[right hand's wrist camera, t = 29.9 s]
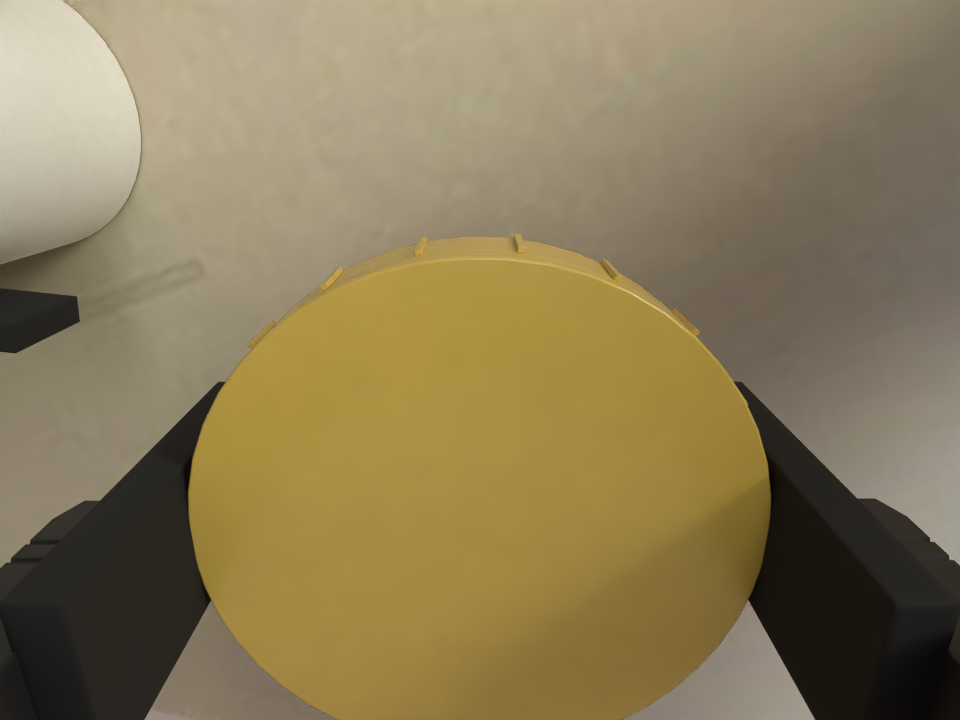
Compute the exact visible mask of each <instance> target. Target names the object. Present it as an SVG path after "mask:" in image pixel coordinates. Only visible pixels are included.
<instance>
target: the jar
mask: <svg viewBox="0 0 960 720" xmlns="http://www.w3.org/2000/svg"><path fill="white" fill-rule="evenodd" d="M140 154H141V131H140V124H139V117H138V112H137V108H136V105H135V101H134V97H133V94H132V92H131V89H130V87H129V84H128V81H127V79H126V77H125V75H124V73H123V71H122V69H121V67H120V65H119V63H118V61H117V60H116V58H115V57H114V55H113V54H112V52H111V51H110V49H109V48H108V46H107V45H106V43H105V42H104V41H103V40H102V38H101V37H100V36H99V35H98V34H97V32H96V31H95V30H94V29H93V28H92V26H91V25H90V24H88V23H87V22H86V21H85V20H84V19H83V18H82V17H81V16H80V15H79V14H78V13H77V12H76V11H75V10H73V9H72V8H71V7H70V6H68V5H67V4H66V3H64V2H63V1H62V0H0V264H4V263H7V262H10V261H14V260H17V259H21V258H24V257H27V256H31V255H34V254H37V253H41V252H44V251H47V250H51V249H54V248H58V247H61V246H64V245H68V244H71V243H74V242H77V241H79V240H82V239H84V238H87V237H89V236H91V235H92V234H94V233H96V232H97V231H99V230H100V229H102V228H103V227H104V226H105V225H106V224H108V223H109V222H110V221H111V220H112V219H113V218H114V217H115V216H116V214H117V213H118V212H119V211H120V210H121V209H122V207H123V205H124V204H125V202H126V200H127V199H128V197H129V195H130V193H131V190H132V188H133V185H134V183H135V180H136V176H137V172H138V168H139V163H140Z"/></svg>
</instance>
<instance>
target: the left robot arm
mask: <svg viewBox="0 0 960 720" xmlns="http://www.w3.org/2000/svg"><path fill="white" fill-rule="evenodd" d="M78 322H80V319H79V311H78V302H77V296H67V295H58V294H49V293H39V292H30V291H20V290H11V289H1V288H0V352H9V353H17V352H19V351H21V350H23V349H25V348H27V347H29V346H31V345H33V344H35V343H37V342H39V341H41V340H43V339H45V338H47V337H49V336H51V335H53V334H55V333H58V332H60V331H62V330H64V329H66V328H68V327H70V326H72V325H74V324H76V323H78Z"/></svg>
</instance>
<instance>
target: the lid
mask: <svg viewBox="0 0 960 720" xmlns="http://www.w3.org/2000/svg"><path fill="white" fill-rule="evenodd" d="M698 334H700V332H699V331H698V330H697V329H696V328H695V327H694V326H693V325H692V324H691V323H690V322H689V321H688V320H687V319H686V318H685V317H683V316H682V315H681V314H680V313H679V312H678V311H677V310H676V309H675V308H674V309H673V310H672V311H670V310H669V309H668V308H667V307H666V306H664V305H663V304H662V303H661V302H660V301H658V300H657V299H656V298H655V297H653V296H652V295H651V294H650V293H649V292H647V291H646V290H645V289H644V288H642V287H641V286H640V285H638V284H636V283H635V282H633V281H632V280H630V279H628V278H627V277H625V276H623V275H622V274H620V273H619V272H618V271H617V270H616V269H615V268H614V267H613V266H612V265H611V263H610V262H609V261H607V260H605V259H603V260H602V261H601V263H599V262H596V261H594V260H592V259H589V258H587V257H585V256H582V255H580V254H578V253H575V252H572V251H568V250H565V249H561V248H558V247H554V246H550V245H547V244H543V243H540V242H533V241H526V240H523V239H522V236H521V234H514V239H512V238H505V237H456V238H448V239H440V240H432V241H428V238H427V236H425V237H421V238H420V240H419V242H418V243H417V244H413V245H409V246H405V247H402V248H398V249H394V250H390V251H387V252H385V253H382V254H380V255H377V256H375V257H372V258H370V259H367V260H365V261H363V262H360V263H358V264H355V265H353V266H351V267H350V268H348V269H346V270H345V271H343V269H342V268H341V267H339V268H337V269H335V270H334V271H333V273H332V274H331V275H330V276H329V277H328V278H327V279H326V280H325V281H324V282H323V283H322V284H321V285H320V286H318V287H317V288H316V289H315V290H313V291H312V292H311V293H310V294H308V295H307V296H306V297H305V298H303V299H302V300H301V301H299V302H298V303H297V304H296V305H294V306H293V308H292V309H291V310H290V311H289V312H288V313H287V314H286V315H285V316H284V317H283V318H282V319H281V320H280V321H279V322H278V323H277V322H275V321H274V320H273V321H272V322H271V323H270V324H269V325H268V326H267V327H265V328H264V329H263V330H262V331H261V332H260V333H259V334H258V335H257V336H256V337H255V338H254V339H253V340H252V341H251V342H250V343H249V345H248V347H249V348H250V349H252V350H251V351H250V352H249V353H248V354H247V355H246V356H245V357H244V358H243V359H242V360H241V361H240V362H239V364H238V365H237V366H236V368H235V369H234V371H233V372H232V374H231V375H230V377H229V378H228V379H227V381H226V382H225V384H224V385H223V387H222V388H221V389H220V391H219V392H218V394H217V396H216V398H215V400H214V402H213V405H212V407H211V409H210V411H209V413H208V414H207V416H206V419H205V421H204V423H203V425H202V428H201V432H200V435H199V438H198V442H197V445H196V448H195V452H194V455H193V458H192V466H191V473H190V480H189V488H188V515H189V522H190V528H191V533H192V539H193V544H194V549H195V555H196V560H197V564H198V569H199V572H200V575H201V578H202V581H203V584H204V587H205V589H206V591H207V593H208V595H209V597H210V599H211V601H212V603H213V605H214V607H215V609H216V611H217V613H218V615H219V616H220V618H221V619H222V621H223V622H224V623H225V625H226V626H227V628H228V629H229V631H230V632H231V634H232V635H233V637H234V638H235V639H236V641H237V642H238V643H239V644H240V645H241V647H242V648H243V649H244V650H245V651H246V652H247V653H248V654H249V656H250V657H251V658H252V659H253V660H254V661H255V662H256V663H257V664H258V665H259V666H260V667H261V668H262V669H263V670H264V671H265V672H267V673H268V674H269V675H270V676H271V677H272V678H273V679H275V680H276V681H277V682H278V683H279V684H280V685H281V686H283V687H284V688H286V689H287V690H288V691H290V692H291V693H293V694H294V695H296V696H297V697H299V698H300V699H301V700H303V701H304V702H306V703H307V704H309V705H311V706H313V707H314V708H316V709H318V710H320V711H322V712H324V713H325V714H327V715H329V716H331V717H333V718H335V719H337V720H622V719H624V718H626V717H628V716H630V715H631V714H633V713H635V712H637V711H639V710H641V709H643V708H645V707H647V706H648V705H650V704H651V703H653V702H654V701H656V700H657V699H659V698H660V697H662V696H663V695H665V694H666V693H668V692H669V691H671V690H672V689H674V688H675V687H676V686H677V685H678V684H680V683H681V682H682V681H683V680H684V679H685V678H687V677H688V676H689V675H690V674H691V673H692V672H694V671H695V670H696V669H697V668H698V667H699V666H700V665H701V664H702V663H703V662H704V661H705V660H706V659H707V658H708V656H709V655H710V654H711V653H712V652H713V651H714V650H715V649H716V648H717V647H718V646H719V645H720V643H721V642H722V640H723V639H724V638H725V636H726V635H727V633H728V632H729V631H730V629H731V628H732V626H733V625H734V624H735V622H736V621H737V619H738V618H739V616H740V614H741V612H742V610H743V608H744V606H745V604H746V603H747V601H748V599H749V597H750V595H751V593H752V591H753V589H754V586H755V583H756V580H757V578H758V575H759V572H760V569H761V565H762V561H763V555H764V550H765V545H766V539H767V534H768V529H769V522H770V515H771V488H770V480H769V471H768V462H767V459H766V455H765V451H764V448H763V444H762V441H761V437H760V434H759V430H758V428H757V425H756V423H755V421H754V419H753V417H752V414H751V412H750V410H749V408H748V403H747V401H746V399H745V398H744V397H743V395H742V394H741V392H740V391H739V389H738V388H737V386H736V385H735V383H734V382H733V380H732V379H731V377H730V376H729V374H728V373H727V371H726V370H725V368H724V367H723V366H722V365H721V363H720V362H719V361H718V360H717V359H716V358H715V357H714V356H713V355H712V354H711V352H710V351H709V350H708V349H707V348H706V347H705V346H704V345H703V344H702V343H701V341H700V340H699V339H698V338H697V337H696V336H697V335H698Z"/></svg>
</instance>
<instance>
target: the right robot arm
mask: <svg viewBox="0 0 960 720" xmlns="http://www.w3.org/2000/svg"><path fill="white" fill-rule="evenodd" d="M734 383H735V385H736V386H737V388H738V389H739V391H740V392H741V394H742V395H743V397H744V398H745V399H746V401H747V403H748V408H749V410H750V412H751V414H752V417H753V419H754V421H755V423H756V425H757V428H758V430H759V434H760V437H761V441H762V444H763V448H764V451H765V455H766V459H767V462H768V471H769V480H770V488H771V515H770V522H769V529H768V534H767V539H766V545H765V550H764V555H763V561H762V565H761V569H760V572H759V575H758V578H757V580H756V583H755V586H754V589H753V591H752V593H751V595H750V597H749V599H748V600H749V602H750V604H751V605H752V607H753V609H754V611H755V613H756V614H757V616H758V618H759V620H760V622H761V623H762V625H763V627H764V629H765V630H766V632H767V634H768V636H769V638H770V639H771V641H772V643H773V645H774V647H775V648H776V650H777V652H778V654H779V656H780V657H781V659H782V661H783V663H784V665H785V666H786V668H787V670H788V672H789V673H790V675H791V677H792V679H793V681H794V682H795V684H796V686H797V688H798V690H799V691H800V693H801V695H802V697H803V699H804V700H805V702H806V704H807V706H808V707H809V709H810V711H811V713H812V715H813V716H814V718H815V720H960V566H959V565H958V564H957V563H956V562H955V561H954V560H949V555H948V554H947V553H946V552H944V551H943V550H942V549H941V548H940V547H939V546H938V545H937V544H936V543H935V542H930V538H929V537H928V536H927V535H926V534H925V533H924V532H923V531H922V530H921V529H920V528H919V527H918V526H917V525H915V524H914V523H913V522H912V521H911V520H910V519H909V518H908V517H907V516H905V515H903V514H901V513H900V512H898V511H896V510H894V509H893V508H891V507H889V506H887V505H886V504H884V503H882V502H880V501H878V500H877V499H857V498H856V497H855V496H854V495H853V494H852V493H851V492H850V491H849V490H848V489H847V488H846V487H845V486H844V485H843V484H842V483H841V482H840V481H839V480H838V479H837V478H836V477H835V476H834V475H833V474H832V473H831V472H830V471H829V470H828V469H827V468H826V467H825V466H824V465H823V464H822V463H821V462H820V461H819V460H818V459H817V458H816V457H815V456H814V455H813V454H812V453H811V452H810V451H809V450H808V449H807V448H806V447H805V446H804V445H803V444H802V443H801V442H800V441H799V440H798V439H797V438H796V437H795V436H794V435H793V434H792V433H791V432H790V430H789V429H788V428H787V427H786V426H785V425H784V424H783V423H782V422H781V421H780V420H779V419H778V418H777V417H776V416H775V415H774V414H773V413H772V412H771V411H770V410H769V409H768V408H767V407H766V406H765V405H764V404H763V403H762V402H761V401H760V400H759V399H758V398H757V397H756V396H755V395H754V394H753V393H752V392H751V391H750V390H749V389H748V388H747V387H746V386H745V385H744V384H743V383H742V382H734ZM224 384H225V382H218V383H217V384H216V385H215V386H214V387H213V388H212V389H211V390H210V391H209V392H208V393H207V394H206V395H205V396H204V397H203V398H202V399H201V400H200V401H199V402H198V403H197V404H196V405H195V406H194V407H193V408H192V409H191V410H190V411H189V412H188V413H187V414H186V415H185V416H184V417H183V418H182V419H181V420H180V421H179V422H178V423H177V424H176V425H175V426H174V427H173V428H172V429H171V430H170V431H169V432H168V433H167V434H166V435H165V436H164V437H163V438H162V439H161V440H160V441H159V442H158V443H157V444H156V445H155V446H154V447H153V448H152V449H151V450H150V451H149V452H148V453H147V454H146V455H145V456H144V457H143V458H142V459H141V460H140V461H139V462H138V463H137V464H136V465H135V466H134V467H133V468H132V469H131V470H130V471H129V472H128V473H127V474H126V475H125V476H124V477H123V478H122V479H121V480H120V481H119V482H118V483H117V484H116V485H115V486H114V487H113V488H112V489H111V490H110V491H109V492H108V493H107V494H106V495H105V496H104V497H103V498H102V499H101V500H100V501H84V502H82V503H80V504H78V505H77V506H75V507H73V508H71V509H70V510H68V511H66V512H64V513H63V514H61V515H59V516H57V517H56V518H54V519H52V520H51V521H50V522H49V523H48V524H47V525H46V526H45V527H44V528H43V529H42V530H41V531H40V532H39V533H38V534H36V535H35V536H34V537H33V538H32V539H31V540H30V544H29V545H25V546H24V547H23V548H22V549H20V550H19V551H18V552H17V553H16V554H15V555H14V556H13V557H12V558H11V562H10V563H6V564H4V565H3V566H2V567H1V568H0V720H144V719H145V717H146V716H147V714H148V712H149V710H150V709H151V707H152V705H153V703H154V701H155V700H156V698H157V696H158V694H159V692H160V691H161V689H162V687H163V685H164V683H165V682H166V680H167V678H168V676H169V674H170V673H171V671H172V669H173V667H174V666H175V664H176V662H177V660H178V658H179V657H180V655H181V653H182V651H183V649H184V648H185V646H186V644H187V642H188V640H189V639H190V637H191V635H192V633H193V632H194V630H195V628H196V626H197V624H198V623H199V621H200V619H201V617H202V615H203V614H204V612H205V610H206V608H207V606H208V605H209V603H210V601H211V599H210V597H209V595H208V593H207V591H206V589H205V587H204V584H203V581H202V578H201V575H200V572H199V569H198V564H197V560H196V555H195V549H194V544H193V539H192V533H191V528H190V522H189V515H188V488H189V480H190V473H191V466H192V458H193V455H194V452H195V448H196V445H197V442H198V438H199V435H200V432H201V428H202V425H203V423H204V421H205V419H206V416H207V414H208V413H209V411H210V409H211V407H212V405H213V402H214V400H215V398H216V396H217V394H218V392H219V391H220V389H221V388H222V387H223V385H224Z"/></svg>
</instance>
